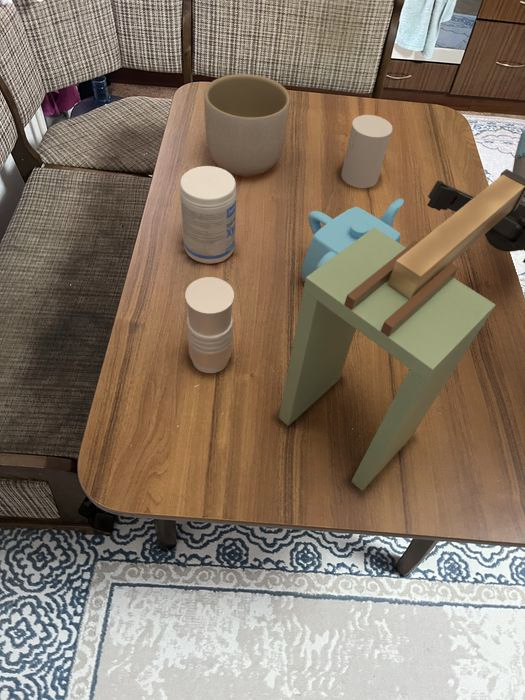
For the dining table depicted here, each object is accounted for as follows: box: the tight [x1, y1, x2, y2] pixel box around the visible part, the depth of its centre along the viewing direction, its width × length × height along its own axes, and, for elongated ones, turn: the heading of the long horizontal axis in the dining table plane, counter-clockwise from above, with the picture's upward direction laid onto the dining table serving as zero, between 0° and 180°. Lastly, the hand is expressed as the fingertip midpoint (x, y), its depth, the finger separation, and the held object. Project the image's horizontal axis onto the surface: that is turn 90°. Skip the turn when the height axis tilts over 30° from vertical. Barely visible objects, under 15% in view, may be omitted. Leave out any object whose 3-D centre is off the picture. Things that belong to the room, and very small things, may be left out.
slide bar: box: [388, 168, 525, 299], centre depth 59 cm, size 3×23×4 cm, turn 136°
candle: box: [184, 276, 235, 374], centre depth 79 cm, size 7×7×15 cm
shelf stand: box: [278, 227, 496, 492], centre depth 67 cm, size 16×12×32 cm
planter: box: [203, 73, 291, 177], centre depth 111 cm, size 17×17×15 cm
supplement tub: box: [179, 165, 237, 264], centre depth 94 cm, size 10×10×15 cm
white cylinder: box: [340, 114, 393, 189], centre depth 112 cm, size 8×8×12 cm
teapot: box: [301, 198, 405, 282], centre depth 93 cm, size 18×16×14 cm
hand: (481, 224), depth 64 cm, fingers open, 13 cm apart
